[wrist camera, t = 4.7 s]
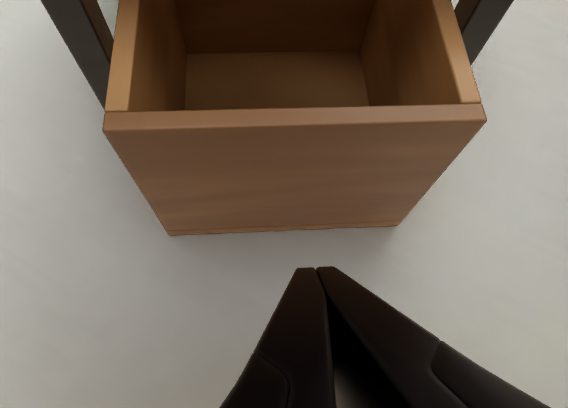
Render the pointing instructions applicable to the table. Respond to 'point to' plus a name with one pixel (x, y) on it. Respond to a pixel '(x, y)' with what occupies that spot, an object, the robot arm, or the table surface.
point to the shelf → (99, 42)
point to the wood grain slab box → (287, 109)
